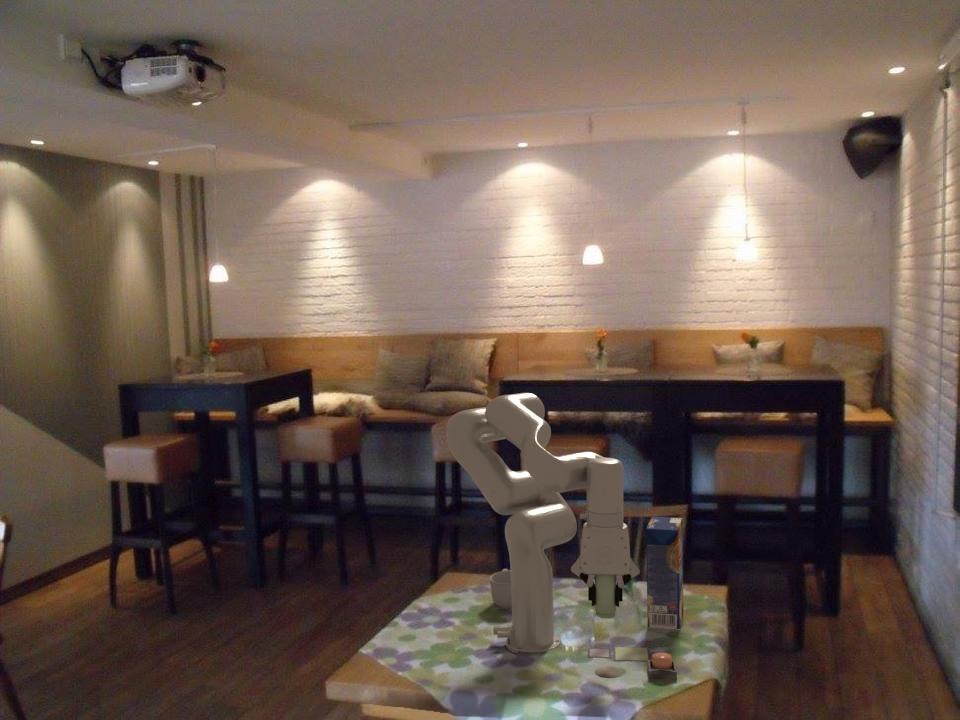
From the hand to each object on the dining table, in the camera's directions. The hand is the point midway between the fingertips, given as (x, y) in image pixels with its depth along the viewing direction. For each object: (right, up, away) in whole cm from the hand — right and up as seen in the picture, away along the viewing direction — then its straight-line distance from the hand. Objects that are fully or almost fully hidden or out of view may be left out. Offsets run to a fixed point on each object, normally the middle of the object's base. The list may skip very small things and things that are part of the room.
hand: (605, 603), depth 190 cm
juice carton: (+19, -13, +32) cm, 40 cm away
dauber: (0, -2, 0) cm, 2 cm away
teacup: (-18, -13, +48) cm, 53 cm away
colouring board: (+5, -15, +5) cm, 17 cm away
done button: (+12, -13, -1) cm, 17 cm away
